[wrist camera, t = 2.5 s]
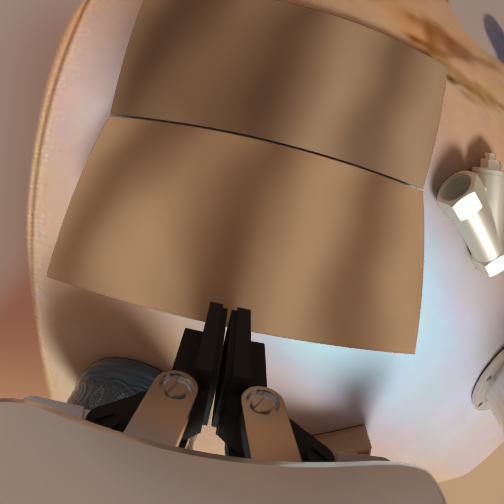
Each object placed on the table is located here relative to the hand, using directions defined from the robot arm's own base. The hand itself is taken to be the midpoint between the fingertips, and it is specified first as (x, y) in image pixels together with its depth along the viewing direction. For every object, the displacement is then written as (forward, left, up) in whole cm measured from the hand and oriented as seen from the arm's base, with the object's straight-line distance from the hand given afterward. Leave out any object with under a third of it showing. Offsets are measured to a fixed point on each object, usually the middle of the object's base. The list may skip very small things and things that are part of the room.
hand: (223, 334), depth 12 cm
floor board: (0, -12, -9) cm, 15 cm away
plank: (0, -3, -5) cm, 6 cm away
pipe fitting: (-18, -8, -10) cm, 22 cm away
